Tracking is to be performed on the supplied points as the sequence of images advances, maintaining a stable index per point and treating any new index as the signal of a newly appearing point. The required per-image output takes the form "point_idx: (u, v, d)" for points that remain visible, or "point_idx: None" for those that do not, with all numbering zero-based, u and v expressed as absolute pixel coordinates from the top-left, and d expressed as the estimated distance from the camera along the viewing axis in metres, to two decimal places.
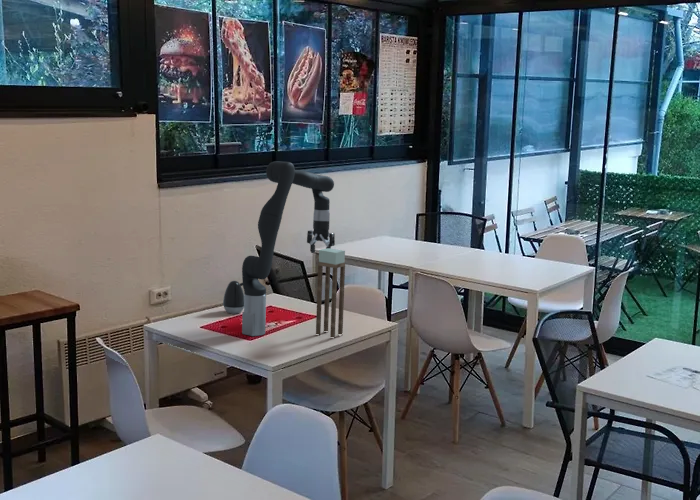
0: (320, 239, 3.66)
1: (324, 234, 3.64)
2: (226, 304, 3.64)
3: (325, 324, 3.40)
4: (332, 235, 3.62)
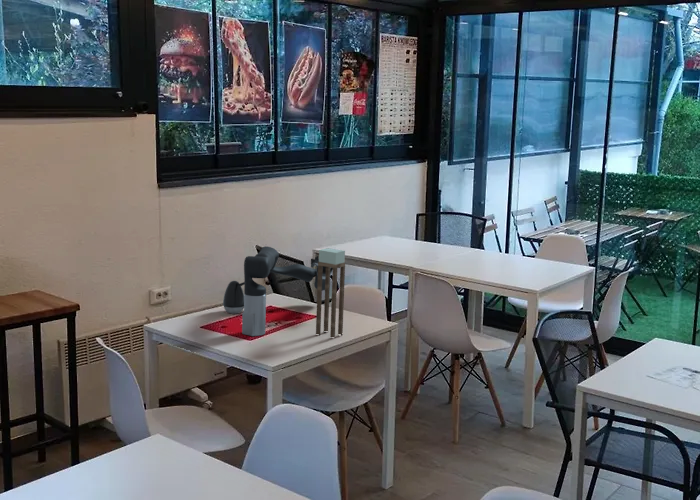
0: None
1: None
2: (226, 304, 3.64)
3: (325, 324, 3.40)
4: None
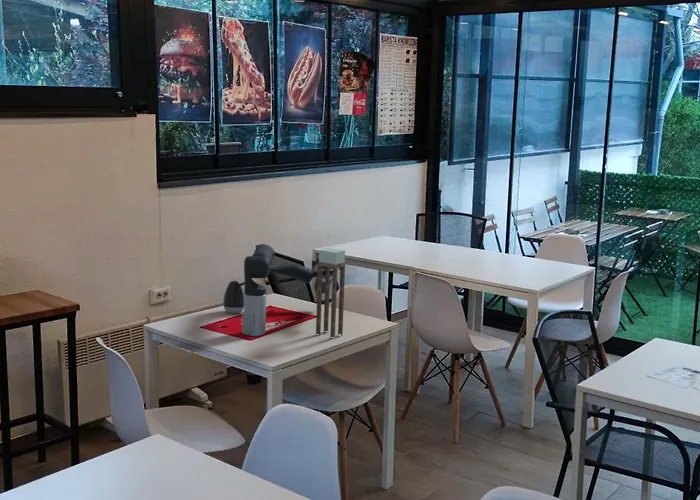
0: None
1: None
2: (226, 304, 3.64)
3: (325, 324, 3.40)
4: None
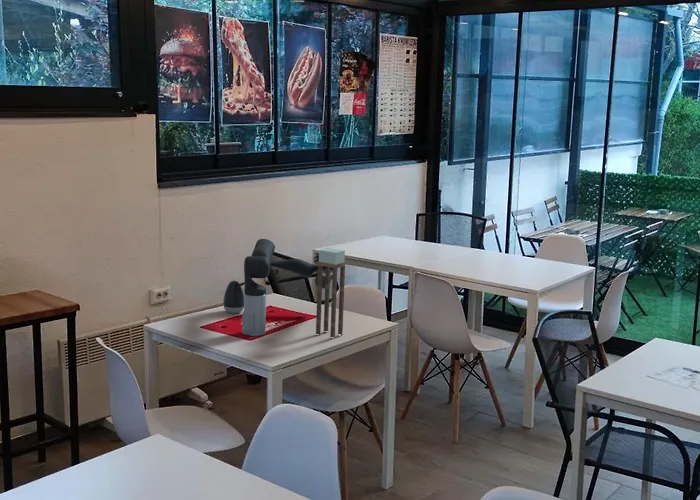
0: None
1: None
2: (226, 304, 3.64)
3: (325, 324, 3.40)
4: None
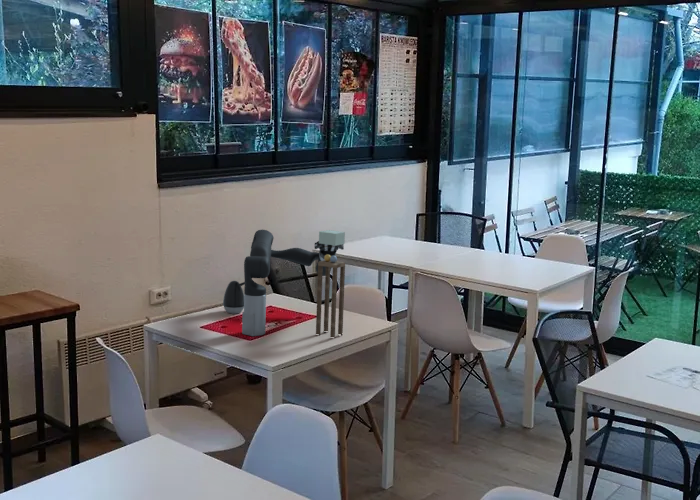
0: None
1: None
2: (226, 304, 3.64)
3: (325, 324, 3.40)
4: (343, 245, 3.47)
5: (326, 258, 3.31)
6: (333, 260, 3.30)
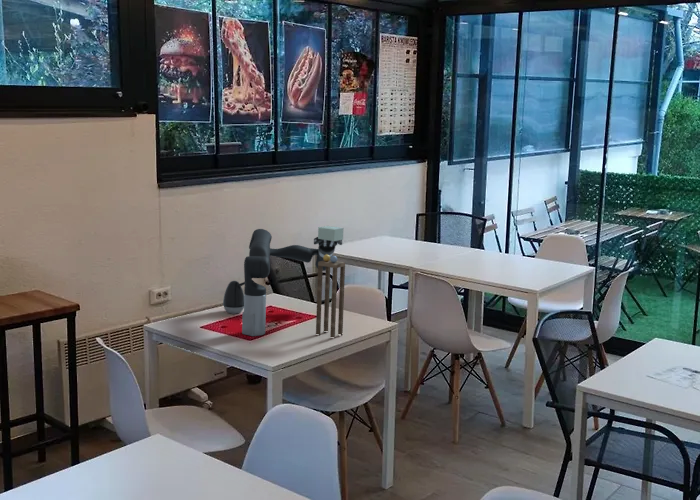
0: None
1: None
2: (226, 304, 3.64)
3: (325, 324, 3.40)
4: (341, 240, 3.55)
5: (325, 258, 3.31)
6: (333, 261, 3.29)
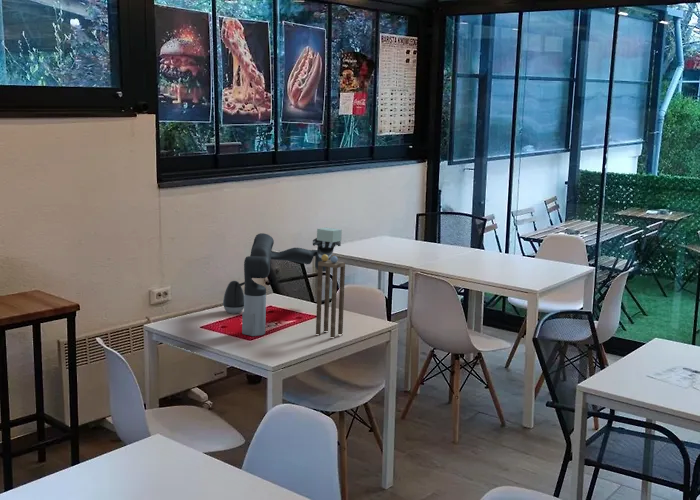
0: None
1: None
2: (226, 304, 3.64)
3: (325, 324, 3.40)
4: (340, 241, 3.62)
5: (323, 259, 3.31)
6: (333, 262, 3.29)
